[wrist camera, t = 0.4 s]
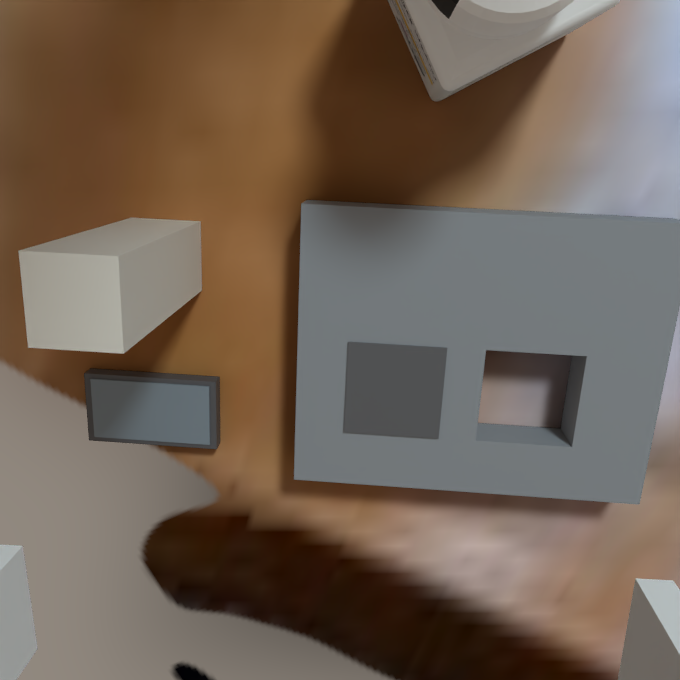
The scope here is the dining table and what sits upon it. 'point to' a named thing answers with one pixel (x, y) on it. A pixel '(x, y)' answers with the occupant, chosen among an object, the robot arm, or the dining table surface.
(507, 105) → the dining table surface
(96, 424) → the phone
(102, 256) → the light grey rectangular block
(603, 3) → the container
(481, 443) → the outlet plate
